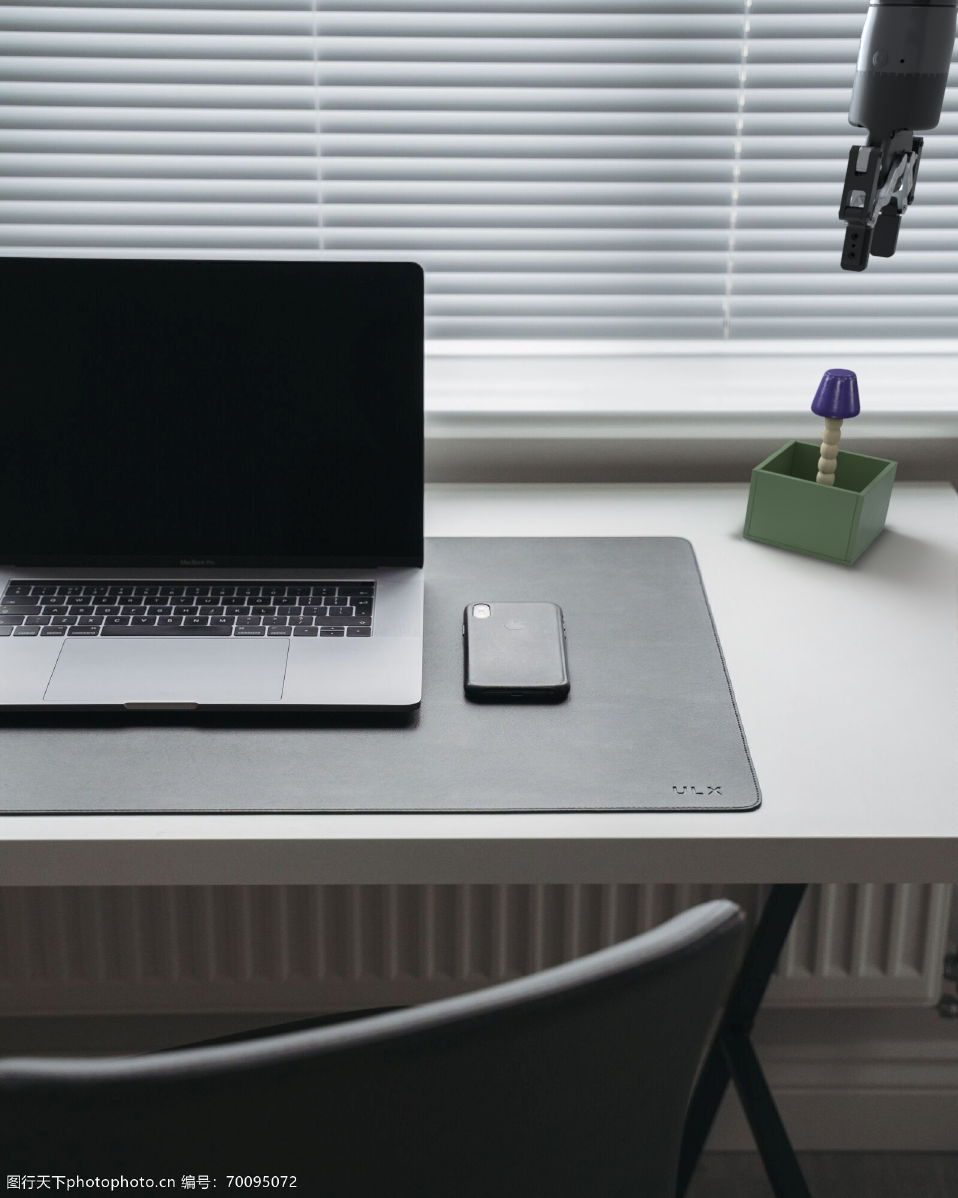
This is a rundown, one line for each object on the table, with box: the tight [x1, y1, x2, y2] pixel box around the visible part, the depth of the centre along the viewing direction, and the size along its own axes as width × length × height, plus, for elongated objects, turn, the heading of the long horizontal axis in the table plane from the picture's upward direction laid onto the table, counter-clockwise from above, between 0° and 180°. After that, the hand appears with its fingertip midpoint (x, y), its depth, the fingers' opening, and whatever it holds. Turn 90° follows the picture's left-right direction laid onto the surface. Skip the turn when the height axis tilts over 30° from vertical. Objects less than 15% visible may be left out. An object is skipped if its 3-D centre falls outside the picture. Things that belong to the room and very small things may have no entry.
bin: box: [742, 438, 899, 567], centre depth 113 cm, size 11×11×8 cm
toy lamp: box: [810, 368, 861, 486], centre depth 110 cm, size 5×5×17 cm
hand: (867, 262), depth 101 cm, fingers open, 8 cm apart
